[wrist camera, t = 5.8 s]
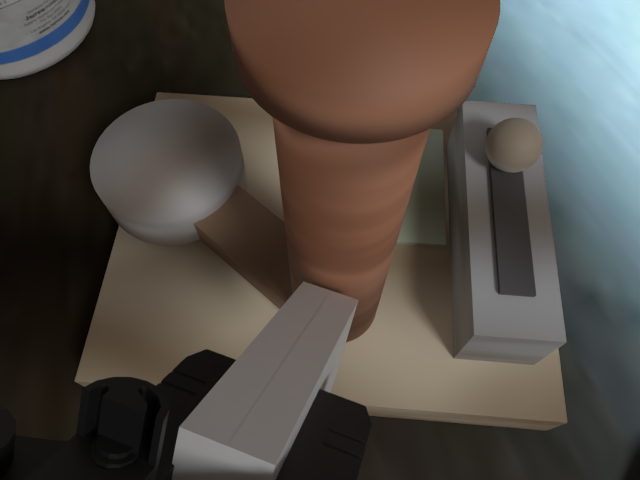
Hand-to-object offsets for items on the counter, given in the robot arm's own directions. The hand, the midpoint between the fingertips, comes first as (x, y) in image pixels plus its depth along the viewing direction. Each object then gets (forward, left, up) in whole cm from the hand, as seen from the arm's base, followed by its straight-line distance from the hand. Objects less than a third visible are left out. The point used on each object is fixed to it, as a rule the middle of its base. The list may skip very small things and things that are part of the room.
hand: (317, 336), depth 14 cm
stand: (-6, 0, -8) cm, 11 cm away
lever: (-6, -4, -6) cm, 9 cm away
